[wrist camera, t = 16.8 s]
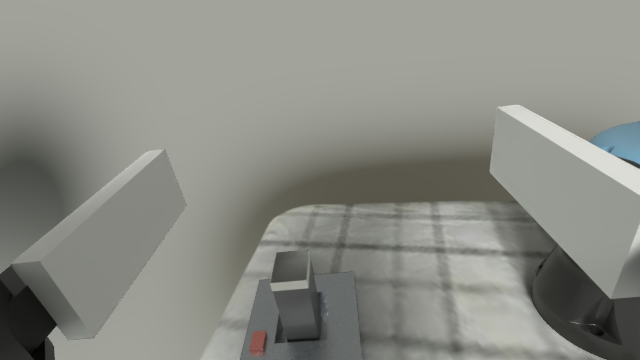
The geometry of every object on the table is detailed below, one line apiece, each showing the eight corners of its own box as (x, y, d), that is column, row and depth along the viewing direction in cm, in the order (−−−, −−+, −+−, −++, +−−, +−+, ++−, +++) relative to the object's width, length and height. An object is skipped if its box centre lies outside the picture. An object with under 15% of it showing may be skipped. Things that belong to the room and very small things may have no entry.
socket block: (355, 286, 49) (353, 268, 47) (364, 381, 37) (361, 361, 35) (264, 294, 50) (258, 276, 49) (243, 388, 38) (235, 369, 36)
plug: (321, 311, 45) (309, 249, 40) (320, 345, 41) (306, 280, 36) (292, 313, 46) (276, 252, 40) (288, 347, 41) (269, 283, 36)
